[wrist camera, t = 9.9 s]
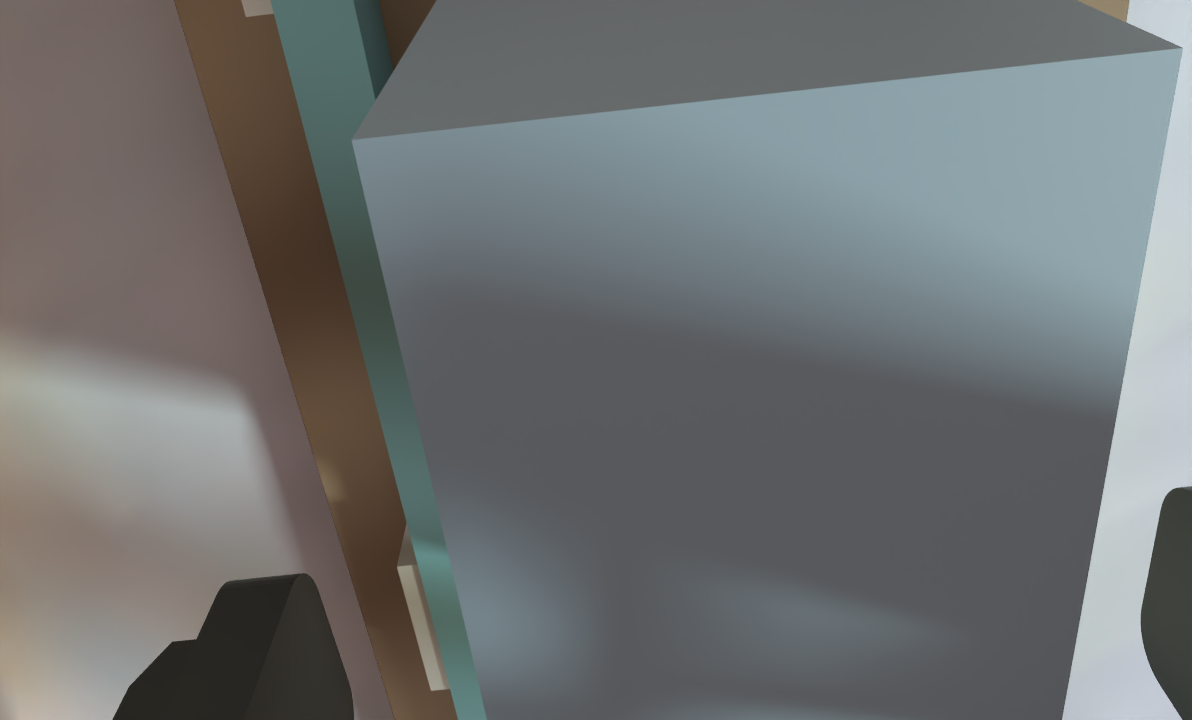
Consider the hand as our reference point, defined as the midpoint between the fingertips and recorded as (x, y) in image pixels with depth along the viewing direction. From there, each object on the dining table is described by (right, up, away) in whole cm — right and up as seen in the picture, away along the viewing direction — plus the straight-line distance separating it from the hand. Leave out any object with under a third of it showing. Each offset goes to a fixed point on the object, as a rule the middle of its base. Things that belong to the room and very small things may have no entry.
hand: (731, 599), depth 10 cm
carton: (0, +4, +6) cm, 7 cm away
